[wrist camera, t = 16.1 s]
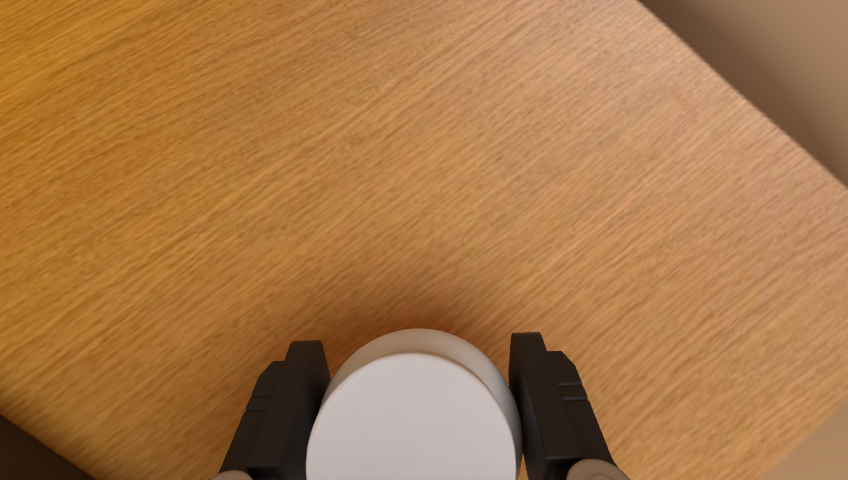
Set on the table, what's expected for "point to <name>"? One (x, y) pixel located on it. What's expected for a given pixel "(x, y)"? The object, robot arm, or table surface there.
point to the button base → (31, 458)
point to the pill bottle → (416, 414)
